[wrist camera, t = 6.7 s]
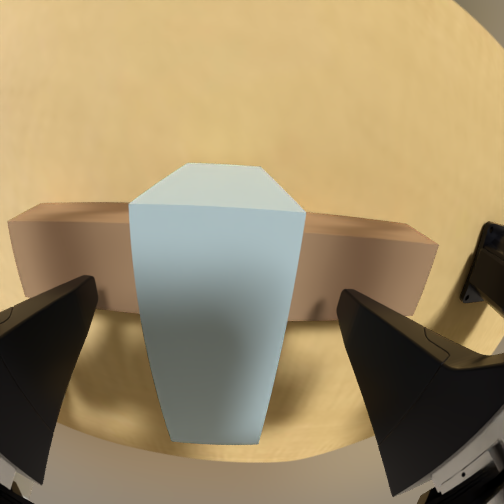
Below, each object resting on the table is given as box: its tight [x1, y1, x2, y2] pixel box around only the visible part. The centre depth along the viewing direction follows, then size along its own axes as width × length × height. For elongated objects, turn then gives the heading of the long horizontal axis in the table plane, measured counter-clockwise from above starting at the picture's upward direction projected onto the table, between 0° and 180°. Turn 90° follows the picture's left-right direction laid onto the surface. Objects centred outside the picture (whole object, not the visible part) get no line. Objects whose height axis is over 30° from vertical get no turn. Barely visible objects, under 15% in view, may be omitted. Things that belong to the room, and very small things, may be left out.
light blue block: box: [129, 163, 306, 445], centre depth 9 cm, size 3×8×7 cm, turn 175°
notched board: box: [8, 202, 439, 321], centre depth 12 cm, size 20×4×3 cm, turn 85°
